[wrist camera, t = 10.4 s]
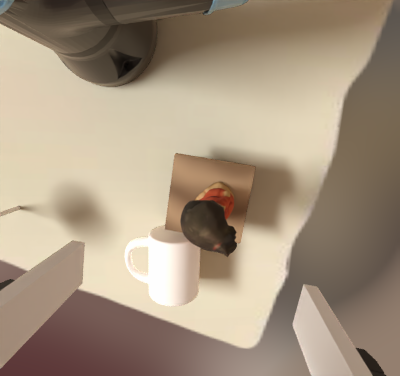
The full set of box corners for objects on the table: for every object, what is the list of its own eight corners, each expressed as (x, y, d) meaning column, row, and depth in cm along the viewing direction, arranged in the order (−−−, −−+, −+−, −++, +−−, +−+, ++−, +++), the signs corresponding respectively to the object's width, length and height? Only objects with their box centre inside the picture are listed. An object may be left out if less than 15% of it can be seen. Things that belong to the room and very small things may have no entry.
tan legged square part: (181, 151, 40) (174, 153, 34) (250, 162, 39) (255, 167, 33) (172, 216, 42) (164, 229, 36) (237, 228, 41) (240, 243, 36)
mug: (203, 225, 42) (198, 245, 34) (200, 279, 44) (195, 309, 36) (133, 220, 43) (113, 239, 35) (134, 273, 45) (115, 301, 37)
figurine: (241, 186, 34) (251, 212, 22) (231, 224, 35) (235, 268, 23) (196, 175, 34) (182, 196, 23) (187, 213, 35) (170, 251, 24)
